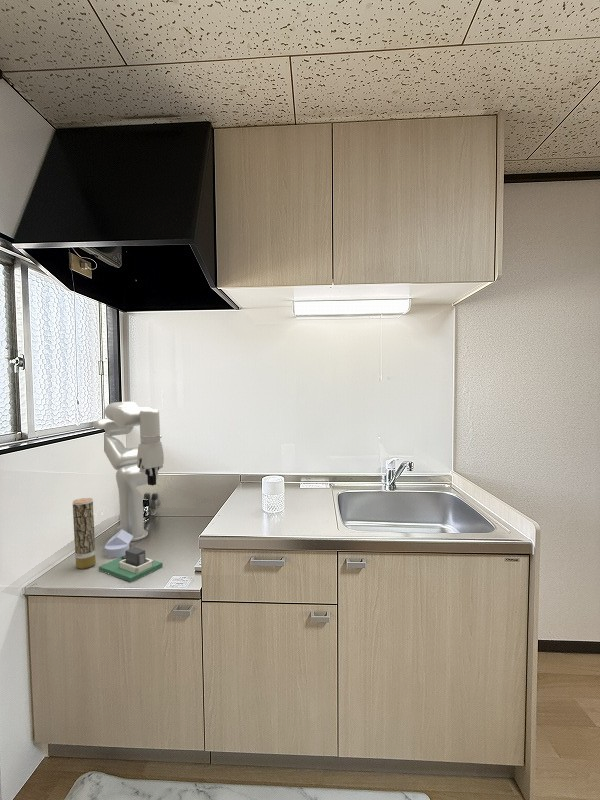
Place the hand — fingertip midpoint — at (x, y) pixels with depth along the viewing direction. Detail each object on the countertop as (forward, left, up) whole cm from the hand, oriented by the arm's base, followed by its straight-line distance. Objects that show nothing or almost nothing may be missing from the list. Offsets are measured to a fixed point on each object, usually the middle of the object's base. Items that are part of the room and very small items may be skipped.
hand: (152, 484), depth 183 cm
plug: (+9, -16, -26) cm, 31 cm away
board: (+6, -16, -27) cm, 32 cm away
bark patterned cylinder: (-11, -23, -27) cm, 37 cm away
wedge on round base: (-12, -8, -27) cm, 31 cm away
